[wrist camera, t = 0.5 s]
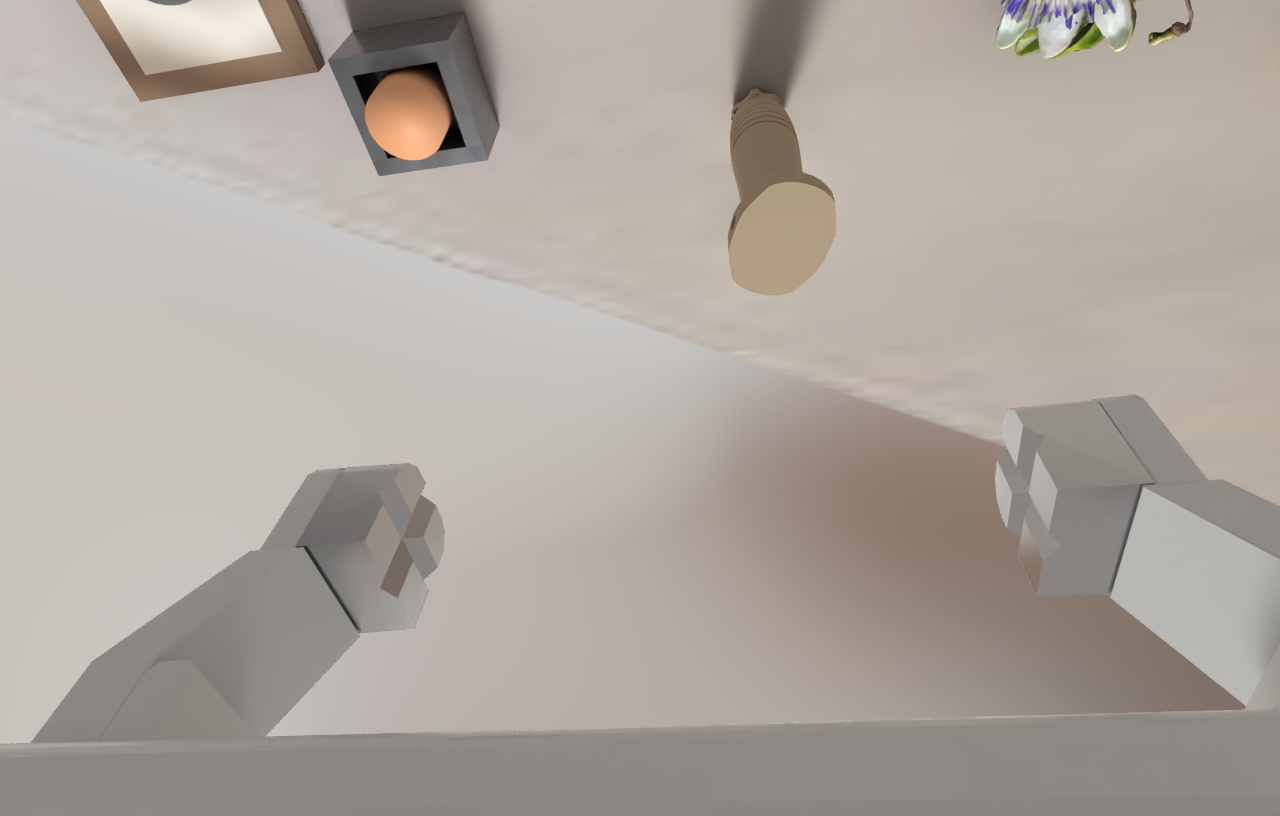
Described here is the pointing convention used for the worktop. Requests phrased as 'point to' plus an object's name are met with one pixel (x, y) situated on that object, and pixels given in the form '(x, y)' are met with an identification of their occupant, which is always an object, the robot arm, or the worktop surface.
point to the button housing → (439, 50)
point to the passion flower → (1073, 25)
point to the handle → (774, 202)
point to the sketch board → (203, 42)
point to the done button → (409, 112)
